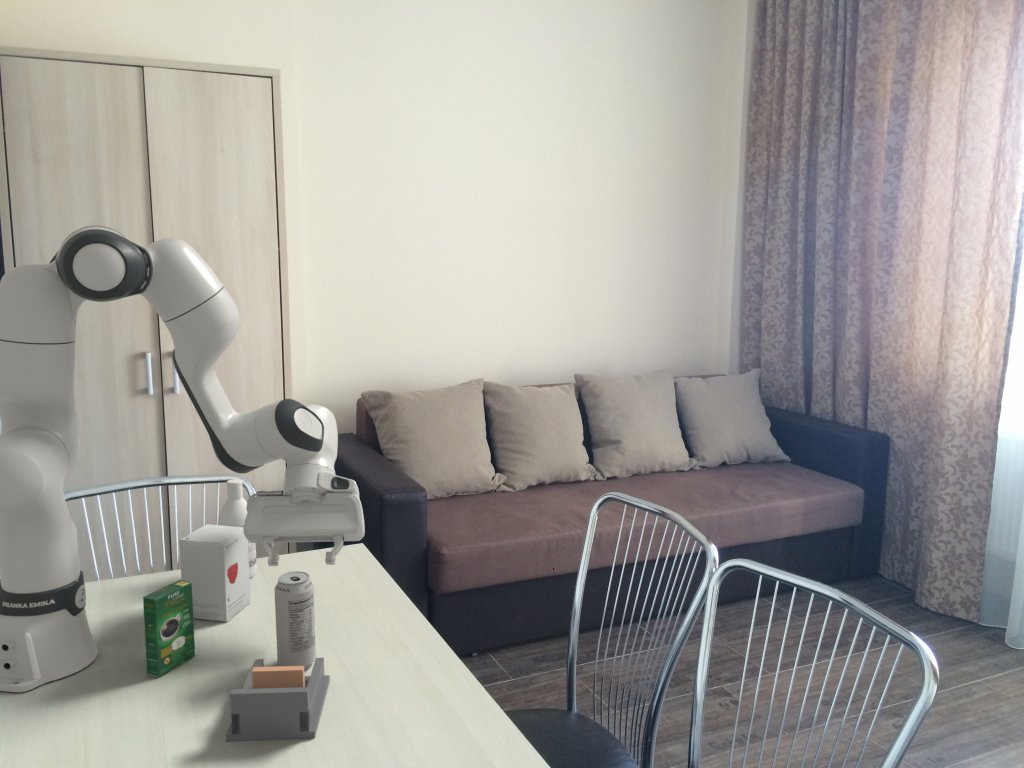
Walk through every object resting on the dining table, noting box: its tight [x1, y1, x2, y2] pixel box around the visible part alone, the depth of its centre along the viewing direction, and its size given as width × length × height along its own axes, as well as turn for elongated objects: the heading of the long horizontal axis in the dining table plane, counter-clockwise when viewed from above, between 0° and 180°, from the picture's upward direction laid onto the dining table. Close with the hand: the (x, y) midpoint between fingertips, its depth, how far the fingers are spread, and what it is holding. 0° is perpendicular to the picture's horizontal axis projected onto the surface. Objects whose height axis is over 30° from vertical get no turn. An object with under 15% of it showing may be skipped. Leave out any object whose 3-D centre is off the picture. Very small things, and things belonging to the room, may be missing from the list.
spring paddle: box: [252, 665, 306, 689], centre depth 121 cm, size 7×1×6 cm, turn 94°
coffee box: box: [142, 579, 196, 678], centre depth 134 cm, size 8×3×13 cm, turn 156°
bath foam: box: [217, 478, 258, 579], centre depth 169 cm, size 7×7×20 cm
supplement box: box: [179, 523, 251, 623], centre depth 154 cm, size 9×9×15 cm
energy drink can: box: [274, 570, 317, 671], centre depth 135 cm, size 6×6×15 cm
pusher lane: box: [225, 657, 331, 742], centre depth 123 cm, size 12×15×7 cm
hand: (301, 564), depth 140 cm, fingers open, 8 cm apart
